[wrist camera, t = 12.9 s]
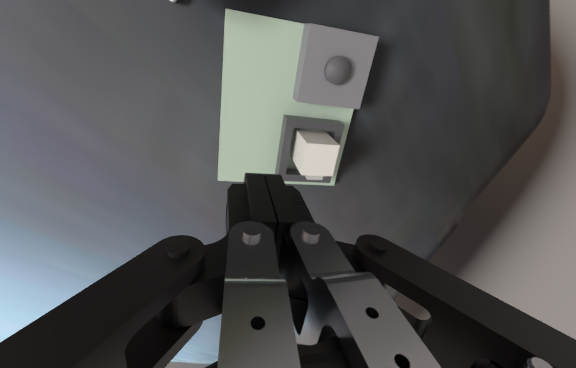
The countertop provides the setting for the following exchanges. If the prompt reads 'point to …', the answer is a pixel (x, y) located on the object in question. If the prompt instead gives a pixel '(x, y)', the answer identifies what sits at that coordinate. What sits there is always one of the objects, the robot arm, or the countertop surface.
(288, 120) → the header socket
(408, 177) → the countertop surface
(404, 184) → the countertop surface
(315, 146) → the plug
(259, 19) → the circuit board
